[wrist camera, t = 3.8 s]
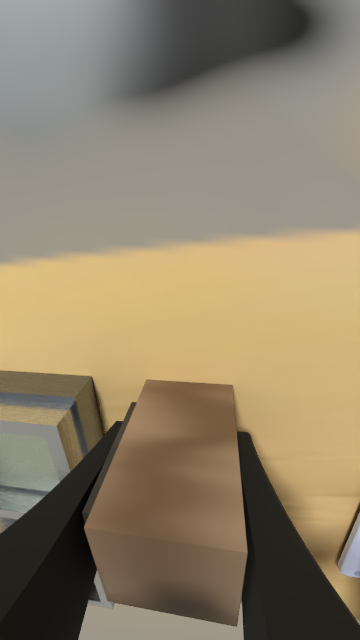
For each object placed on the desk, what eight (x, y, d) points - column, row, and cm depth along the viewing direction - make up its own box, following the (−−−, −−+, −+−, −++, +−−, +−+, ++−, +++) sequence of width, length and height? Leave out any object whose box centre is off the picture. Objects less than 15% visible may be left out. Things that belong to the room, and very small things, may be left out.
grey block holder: (91, 376, 12) (-76, 592, 5) (129, 560, 19) (79, 758, 12) (-44, 367, 13) (-329, 537, 6) (39, 545, 20) (-55, 719, 13)
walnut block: (232, 385, 11) (247, 552, 6) (228, 448, 13) (236, 626, 7) (138, 379, 12) (69, 525, 6) (145, 440, 13) (95, 599, 8)
